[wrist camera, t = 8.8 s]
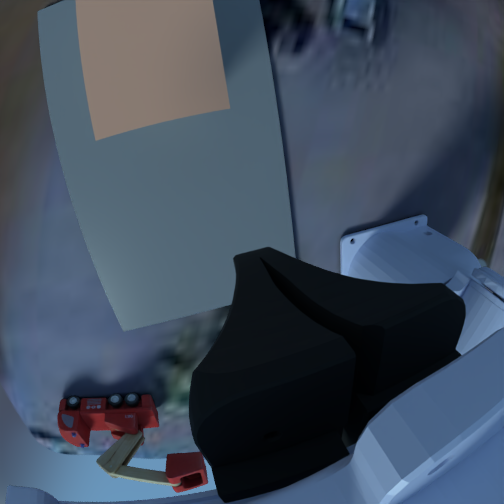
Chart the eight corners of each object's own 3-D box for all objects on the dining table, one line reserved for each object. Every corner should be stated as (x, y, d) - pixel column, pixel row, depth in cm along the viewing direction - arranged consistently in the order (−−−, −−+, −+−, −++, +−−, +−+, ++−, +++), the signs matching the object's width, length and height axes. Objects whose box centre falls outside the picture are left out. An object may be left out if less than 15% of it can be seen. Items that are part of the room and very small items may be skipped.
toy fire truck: (56, 394, 24) (43, 477, 15) (189, 385, 27) (206, 474, 19) (69, 414, 25) (61, 492, 17) (193, 406, 28) (211, 489, 20)
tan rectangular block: (188, -34, 10) (199, -80, 6) (211, 110, 13) (230, 108, 9) (95, -14, 9) (74, -54, 5) (116, 133, 13) (95, 140, 9)
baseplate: (249, -33, 14) (252, -36, 13) (295, 281, 25) (298, 285, 24) (40, 13, 12) (37, 11, 11) (124, 326, 23) (123, 331, 22)
